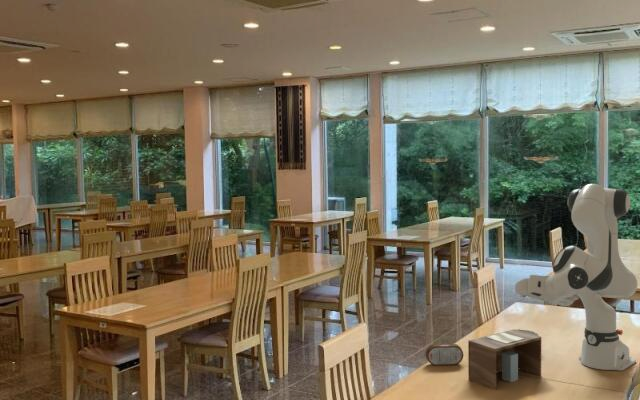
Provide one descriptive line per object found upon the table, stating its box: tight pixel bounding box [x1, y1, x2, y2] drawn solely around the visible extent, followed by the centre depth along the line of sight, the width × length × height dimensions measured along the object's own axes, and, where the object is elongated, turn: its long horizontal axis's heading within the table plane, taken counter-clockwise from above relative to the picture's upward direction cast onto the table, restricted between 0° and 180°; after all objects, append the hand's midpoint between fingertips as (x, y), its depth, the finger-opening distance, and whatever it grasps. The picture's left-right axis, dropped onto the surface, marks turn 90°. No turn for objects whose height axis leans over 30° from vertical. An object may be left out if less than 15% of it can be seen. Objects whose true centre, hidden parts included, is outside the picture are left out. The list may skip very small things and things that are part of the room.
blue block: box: [501, 351, 519, 383], centre depth 238 cm, size 4×4×10 cm
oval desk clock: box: [425, 343, 464, 366], centre depth 256 cm, size 15×3×8 cm, turn 92°
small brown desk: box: [467, 329, 542, 391], centre depth 240 cm, size 26×13×15 cm, turn 123°
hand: (534, 298), depth 231 cm, fingers open, 8 cm apart
